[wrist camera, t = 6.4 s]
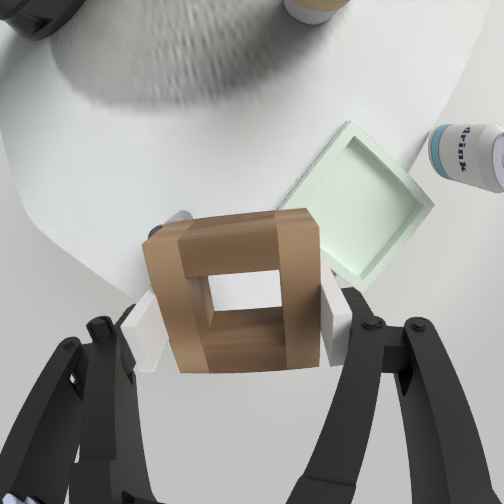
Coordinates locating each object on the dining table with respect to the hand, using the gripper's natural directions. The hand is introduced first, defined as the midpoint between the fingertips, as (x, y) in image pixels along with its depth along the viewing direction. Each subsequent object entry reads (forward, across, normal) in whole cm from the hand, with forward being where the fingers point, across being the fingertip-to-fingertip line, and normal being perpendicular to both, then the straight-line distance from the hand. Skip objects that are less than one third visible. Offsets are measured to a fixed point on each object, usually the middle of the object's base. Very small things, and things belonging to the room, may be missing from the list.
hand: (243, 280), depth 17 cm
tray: (+16, +12, 0) cm, 20 cm away
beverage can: (+16, +25, +7) cm, 30 cm away
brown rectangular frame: (0, 0, 0) cm, 0 cm away
